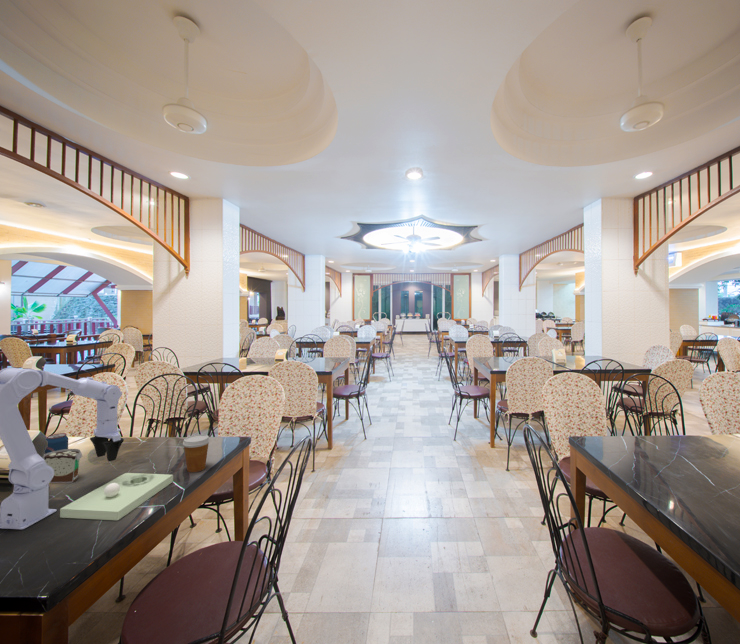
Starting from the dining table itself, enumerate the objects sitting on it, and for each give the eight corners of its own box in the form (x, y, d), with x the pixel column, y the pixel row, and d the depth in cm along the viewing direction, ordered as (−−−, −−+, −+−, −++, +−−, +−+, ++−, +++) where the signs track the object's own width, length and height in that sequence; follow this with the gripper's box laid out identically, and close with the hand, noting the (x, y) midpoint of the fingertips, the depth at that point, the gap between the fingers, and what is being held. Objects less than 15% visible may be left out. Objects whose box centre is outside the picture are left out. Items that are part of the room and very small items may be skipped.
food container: (90, 474, 126) (91, 448, 126) (77, 482, 120) (77, 454, 120) (57, 475, 126) (57, 448, 126) (41, 482, 120) (41, 454, 120)
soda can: (39, 468, 132) (39, 437, 132) (59, 461, 138) (59, 432, 139) (52, 470, 130) (53, 439, 130) (72, 463, 137) (72, 433, 137)
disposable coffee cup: (179, 475, 126) (179, 443, 126) (186, 465, 135) (186, 435, 135) (207, 472, 129) (207, 441, 129) (211, 462, 138) (212, 433, 138)
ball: (112, 499, 104) (112, 486, 104) (100, 499, 104) (100, 486, 104) (123, 493, 108) (123, 480, 108) (111, 492, 108) (111, 480, 108)
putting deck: (117, 520, 97) (117, 511, 97) (60, 517, 98) (60, 508, 99) (172, 481, 121) (172, 474, 121) (125, 479, 122) (125, 472, 122)
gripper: (130, 419, 118) (130, 458, 117) (110, 413, 125) (109, 450, 124) (107, 424, 111) (106, 465, 111) (86, 418, 118) (86, 457, 118)
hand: (106, 458), depth 117 cm, fingers open, 7 cm apart
